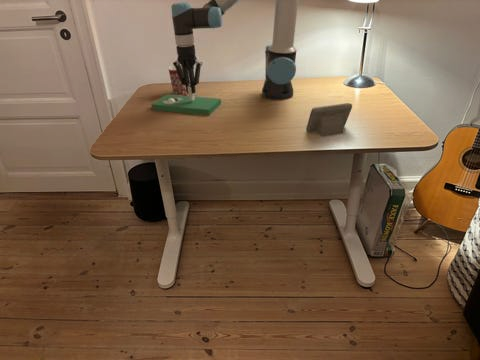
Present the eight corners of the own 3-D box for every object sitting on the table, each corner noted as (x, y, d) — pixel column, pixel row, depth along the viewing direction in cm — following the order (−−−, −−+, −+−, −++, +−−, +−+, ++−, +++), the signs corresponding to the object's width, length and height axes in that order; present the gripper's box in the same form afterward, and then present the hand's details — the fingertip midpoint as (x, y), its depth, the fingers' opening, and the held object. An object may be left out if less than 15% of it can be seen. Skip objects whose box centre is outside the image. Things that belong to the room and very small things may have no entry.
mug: (189, 97, 169) (186, 69, 162) (170, 98, 169) (166, 70, 162) (191, 89, 180) (188, 62, 173) (174, 89, 180) (170, 63, 173)
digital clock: (345, 125, 136) (348, 99, 130) (352, 135, 128) (356, 107, 122) (303, 127, 135) (305, 101, 130) (308, 137, 128) (310, 110, 122)
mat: (221, 104, 160) (221, 98, 159) (209, 115, 149) (208, 109, 148) (167, 99, 169) (166, 94, 167) (152, 109, 158) (151, 104, 156)
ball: (169, 96, 161) (170, 103, 163) (165, 99, 158) (166, 106, 160) (176, 97, 160) (177, 104, 162) (172, 99, 157) (173, 107, 159)
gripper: (203, 43, 145) (208, 98, 157) (175, 42, 148) (183, 96, 161) (195, 47, 139) (201, 104, 151) (166, 46, 143) (175, 101, 155)
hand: (192, 99), depth 156 cm, fingers closed
